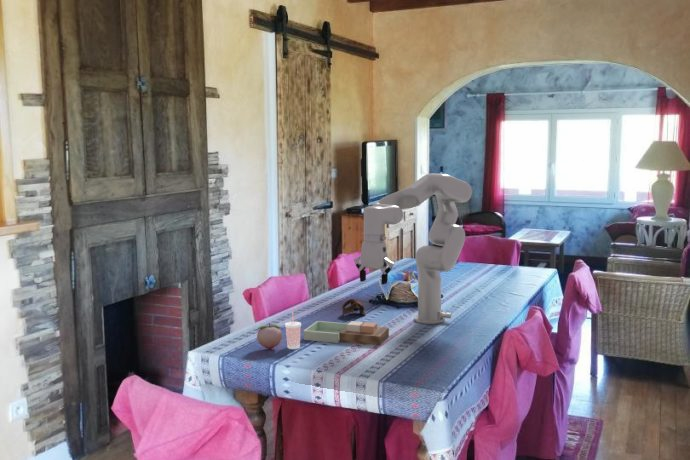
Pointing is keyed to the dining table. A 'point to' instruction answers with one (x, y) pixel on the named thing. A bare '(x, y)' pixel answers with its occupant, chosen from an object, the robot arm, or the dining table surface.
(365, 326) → the tile terracotta
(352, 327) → the tile cream
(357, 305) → the dark brown domed piece
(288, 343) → the beverage cup
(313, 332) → the tray
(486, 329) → the dining table surface
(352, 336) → the walnut board
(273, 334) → the decorative fruit
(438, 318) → the robot arm
